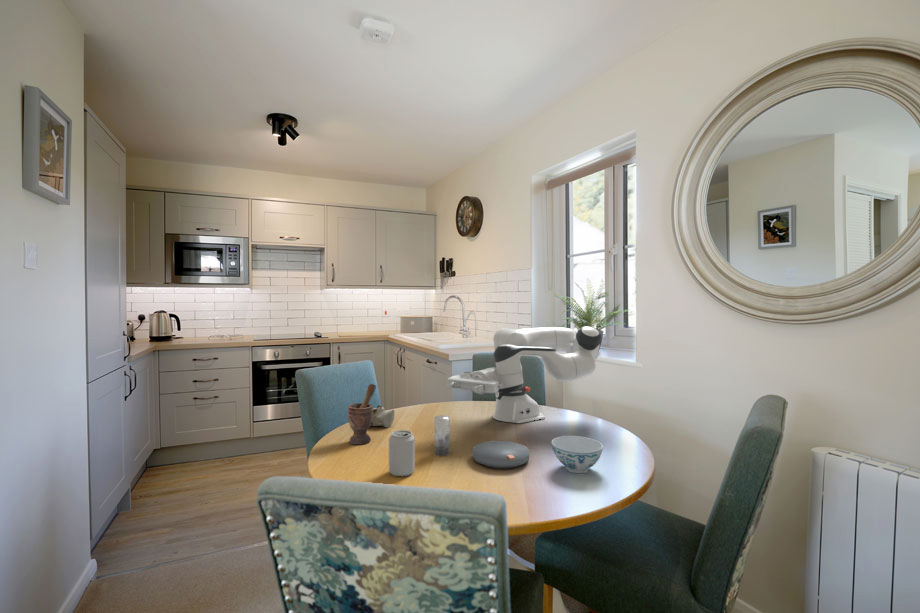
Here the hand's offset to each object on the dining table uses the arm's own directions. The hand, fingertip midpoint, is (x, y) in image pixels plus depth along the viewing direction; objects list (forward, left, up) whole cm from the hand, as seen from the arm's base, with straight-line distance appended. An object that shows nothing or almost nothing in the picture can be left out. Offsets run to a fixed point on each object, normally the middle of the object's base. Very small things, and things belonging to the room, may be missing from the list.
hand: (461, 388), depth 152 cm
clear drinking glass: (+10, +7, -20) cm, 23 cm away
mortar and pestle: (+34, -15, -20) cm, 42 cm away
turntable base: (-6, +19, -20) cm, 28 cm away
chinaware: (-25, +33, -20) cm, 46 cm away
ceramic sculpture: (+25, -31, -20) cm, 45 cm away
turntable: (-6, +19, -18) cm, 28 cm away
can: (+26, +19, -20) cm, 38 cm away
